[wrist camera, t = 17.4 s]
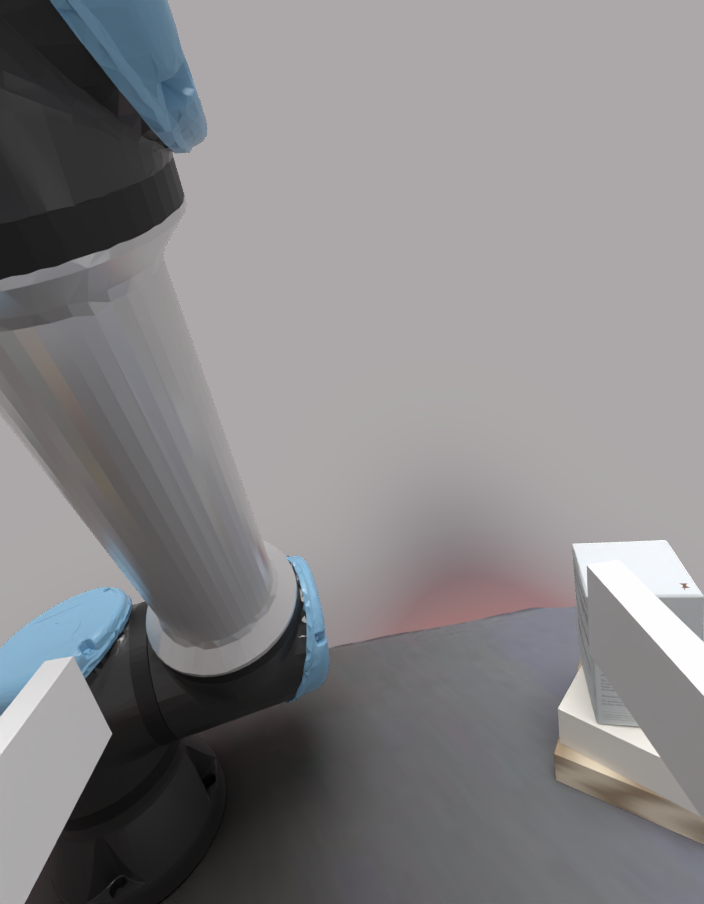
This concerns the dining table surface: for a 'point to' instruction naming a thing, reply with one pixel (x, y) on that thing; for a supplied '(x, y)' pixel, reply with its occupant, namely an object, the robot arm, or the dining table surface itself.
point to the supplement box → (661, 577)
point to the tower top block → (615, 745)
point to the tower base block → (624, 792)
